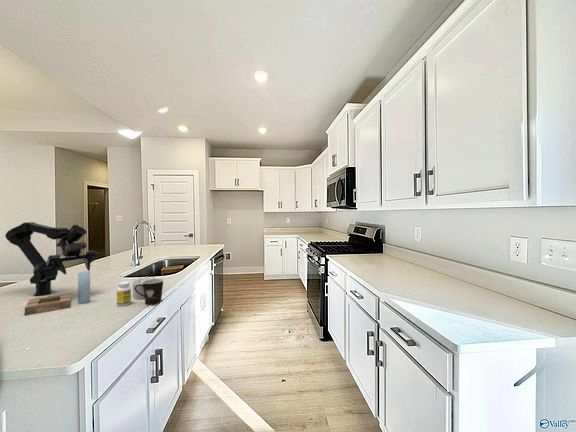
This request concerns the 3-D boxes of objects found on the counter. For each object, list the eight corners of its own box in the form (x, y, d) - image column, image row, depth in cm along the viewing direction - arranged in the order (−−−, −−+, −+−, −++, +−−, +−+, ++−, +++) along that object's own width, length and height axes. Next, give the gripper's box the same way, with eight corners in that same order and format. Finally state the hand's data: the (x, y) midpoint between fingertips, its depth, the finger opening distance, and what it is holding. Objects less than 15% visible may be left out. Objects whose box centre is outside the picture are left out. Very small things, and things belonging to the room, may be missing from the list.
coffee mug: (167, 300, 122) (167, 279, 122) (152, 306, 114) (152, 284, 114) (148, 298, 126) (148, 277, 126) (133, 303, 118) (133, 282, 118)
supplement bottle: (124, 306, 114) (124, 284, 114) (113, 305, 115) (113, 284, 115) (133, 302, 119) (133, 281, 119) (123, 301, 121) (123, 281, 120)
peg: (78, 301, 120) (78, 272, 120) (89, 300, 123) (89, 270, 123) (78, 304, 117) (78, 273, 117) (90, 302, 120) (90, 272, 120)
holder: (29, 306, 115) (29, 299, 115) (70, 299, 124) (70, 293, 124) (24, 315, 104) (24, 308, 104) (69, 307, 113) (69, 300, 113)
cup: (135, 300, 122) (135, 282, 122) (130, 294, 132) (130, 277, 132) (159, 296, 129) (159, 279, 129) (152, 290, 139) (152, 274, 139)
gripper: (48, 238, 119) (56, 264, 113) (95, 235, 135) (105, 258, 129) (42, 253, 123) (50, 280, 117) (89, 249, 139) (98, 272, 133)
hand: (77, 271), depth 124 cm, fingers open, 9 cm apart
